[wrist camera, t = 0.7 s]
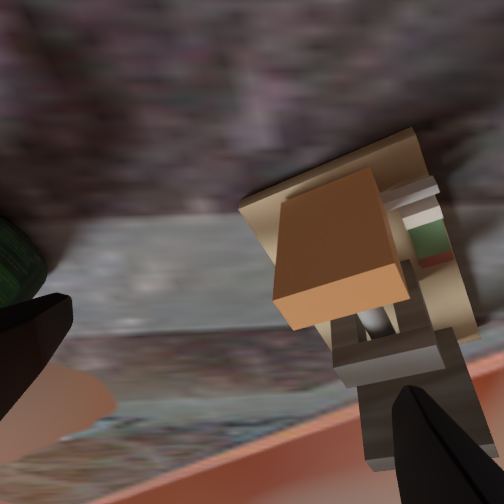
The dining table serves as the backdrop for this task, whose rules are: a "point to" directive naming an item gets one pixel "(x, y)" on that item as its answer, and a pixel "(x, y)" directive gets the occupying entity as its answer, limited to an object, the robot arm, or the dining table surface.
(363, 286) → the plunger
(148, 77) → the dining table surface
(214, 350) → the dining table surface
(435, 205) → the tell-tale marker
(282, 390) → the dining table surface
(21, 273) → the coffee jar
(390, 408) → the wooden base with posts
